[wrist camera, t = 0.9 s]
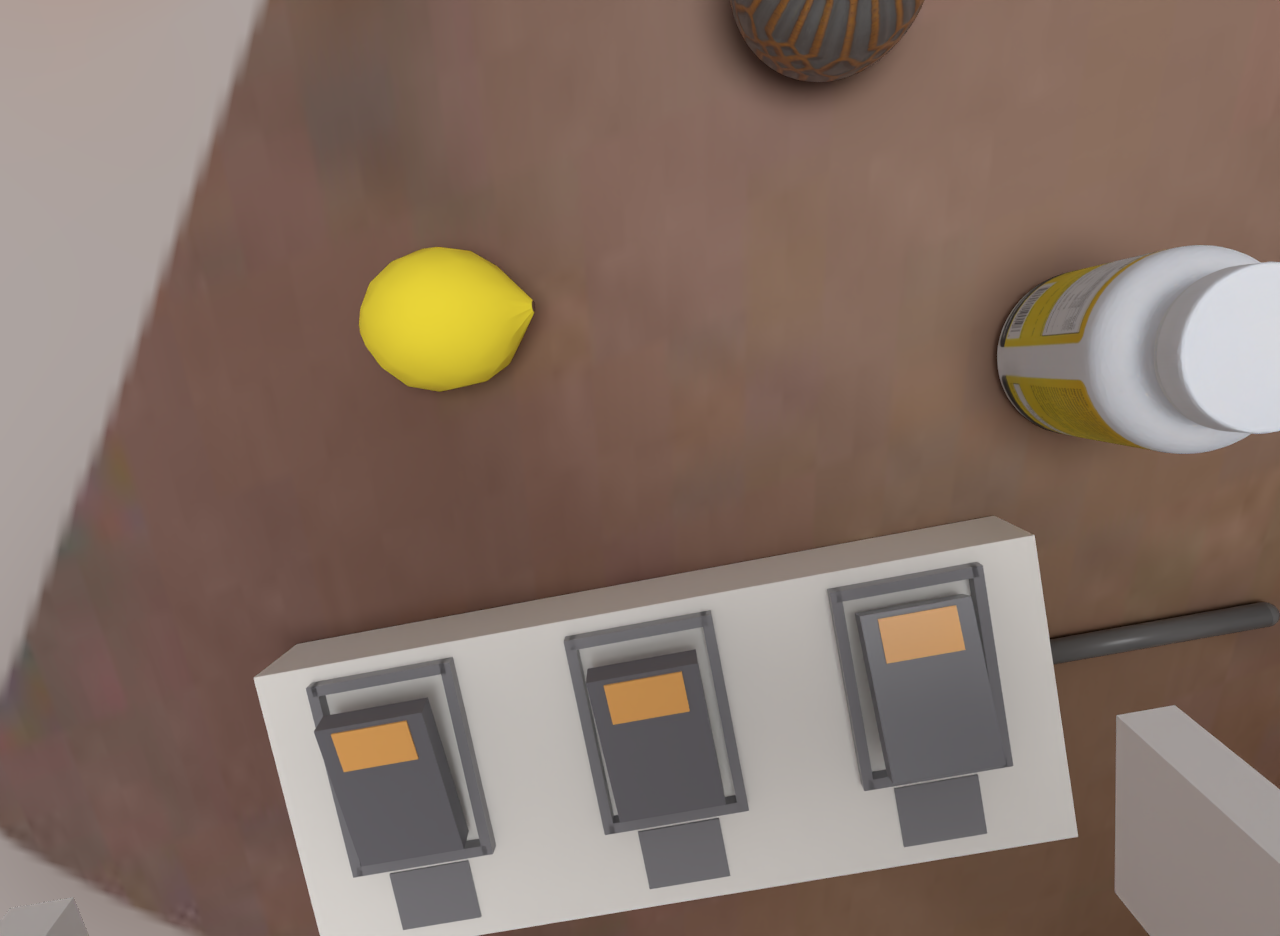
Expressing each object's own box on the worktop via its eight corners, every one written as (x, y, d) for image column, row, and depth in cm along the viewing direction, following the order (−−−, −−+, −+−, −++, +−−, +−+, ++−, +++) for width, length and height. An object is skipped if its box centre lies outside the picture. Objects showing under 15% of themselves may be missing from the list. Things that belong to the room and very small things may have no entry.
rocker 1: (468, 831, 34) (463, 850, 33) (369, 848, 34) (360, 868, 33) (427, 697, 32) (420, 713, 31) (323, 716, 32) (312, 733, 31)
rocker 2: (996, 756, 32) (1007, 765, 31) (887, 775, 32) (893, 784, 31) (962, 593, 32) (972, 596, 31) (854, 613, 32) (860, 616, 31)
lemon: (400, 394, 37) (335, 403, 32) (382, 264, 36) (313, 251, 31) (560, 378, 36) (521, 384, 30) (545, 243, 35) (502, 225, 30)
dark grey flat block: (723, 787, 33) (726, 805, 32) (620, 804, 34) (620, 824, 33) (695, 649, 32) (697, 664, 31) (587, 668, 32) (585, 684, 31)
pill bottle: (1122, 451, 36) (1340, 495, 24) (969, 410, 36) (1114, 435, 24) (1175, 294, 35) (1427, 263, 23) (1019, 252, 35) (1193, 200, 23)
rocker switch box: (1284, 744, 37) (1371, 798, 32) (360, 899, 39) (320, 970, 35) (1252, 467, 36) (1338, 484, 31) (296, 644, 38) (246, 683, 33)
